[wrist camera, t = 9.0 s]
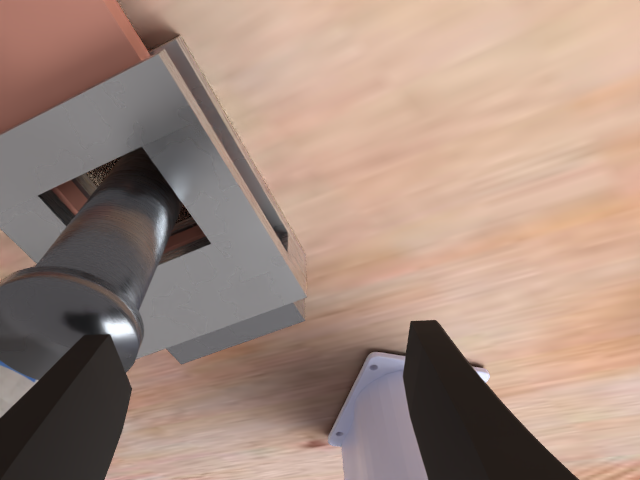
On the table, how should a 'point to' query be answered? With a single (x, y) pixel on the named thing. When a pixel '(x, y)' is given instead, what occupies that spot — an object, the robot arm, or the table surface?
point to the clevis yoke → (189, 185)
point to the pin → (92, 272)
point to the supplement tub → (12, 387)
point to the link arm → (64, 65)
